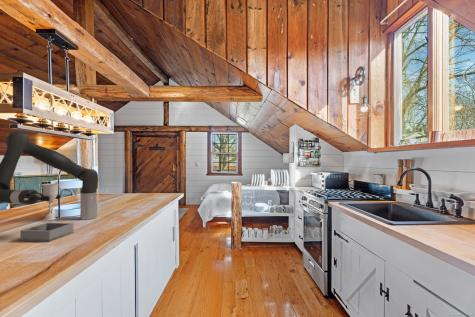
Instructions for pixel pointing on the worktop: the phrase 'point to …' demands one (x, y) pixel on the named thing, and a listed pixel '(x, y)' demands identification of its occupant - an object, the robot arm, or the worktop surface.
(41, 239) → the box
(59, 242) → the worktop surface
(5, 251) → the worktop surface
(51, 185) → the chalice
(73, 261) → the worktop surface
